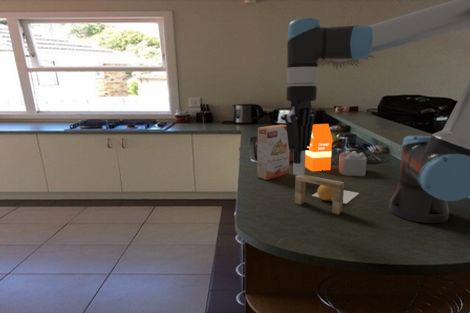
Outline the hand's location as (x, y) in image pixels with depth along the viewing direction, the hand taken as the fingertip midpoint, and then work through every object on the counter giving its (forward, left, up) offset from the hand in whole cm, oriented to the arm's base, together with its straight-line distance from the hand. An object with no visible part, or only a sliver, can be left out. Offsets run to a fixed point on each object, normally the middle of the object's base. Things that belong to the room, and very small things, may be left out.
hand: (298, 174), depth 85 cm
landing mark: (0, -27, -14) cm, 30 cm away
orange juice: (+20, -55, -14) cm, 60 cm away
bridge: (0, -13, -14) cm, 19 cm away
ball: (+1, -21, -11) cm, 23 cm away
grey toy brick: (+6, -59, -14) cm, 61 cm away
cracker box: (+29, -33, -14) cm, 47 cm away
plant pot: (+40, -62, -14) cm, 75 cm away
